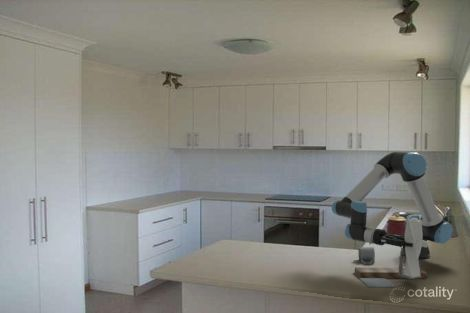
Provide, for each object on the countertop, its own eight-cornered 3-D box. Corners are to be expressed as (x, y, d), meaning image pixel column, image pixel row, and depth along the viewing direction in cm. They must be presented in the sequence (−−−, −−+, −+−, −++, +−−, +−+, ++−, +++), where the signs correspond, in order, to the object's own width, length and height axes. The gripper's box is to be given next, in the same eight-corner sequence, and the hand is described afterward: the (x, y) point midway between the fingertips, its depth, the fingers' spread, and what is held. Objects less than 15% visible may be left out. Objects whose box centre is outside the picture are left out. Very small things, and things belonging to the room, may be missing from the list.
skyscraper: (410, 272, 210) (412, 212, 209) (424, 277, 203) (427, 215, 202) (397, 274, 206) (399, 213, 205) (411, 280, 199) (414, 216, 198)
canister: (382, 238, 301) (383, 212, 301) (399, 238, 304) (400, 211, 303) (392, 242, 289) (393, 215, 288) (410, 242, 291) (411, 215, 290)
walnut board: (418, 273, 222) (418, 267, 222) (426, 278, 214) (426, 272, 214) (354, 272, 220) (354, 267, 220) (360, 277, 212) (360, 272, 212)
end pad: (384, 279, 211) (384, 278, 211) (395, 287, 199) (395, 286, 199) (359, 278, 210) (359, 278, 210) (368, 287, 198) (368, 286, 198)
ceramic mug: (357, 258, 247) (358, 244, 246) (373, 259, 245) (373, 245, 245) (359, 264, 236) (359, 249, 236) (375, 265, 235) (376, 250, 234)
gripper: (385, 241, 224) (432, 250, 207) (365, 246, 211) (414, 257, 194) (385, 226, 223) (433, 234, 207) (366, 230, 210) (414, 239, 194)
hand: (423, 245), depth 200 cm, fingers closed on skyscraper, 6 cm apart
